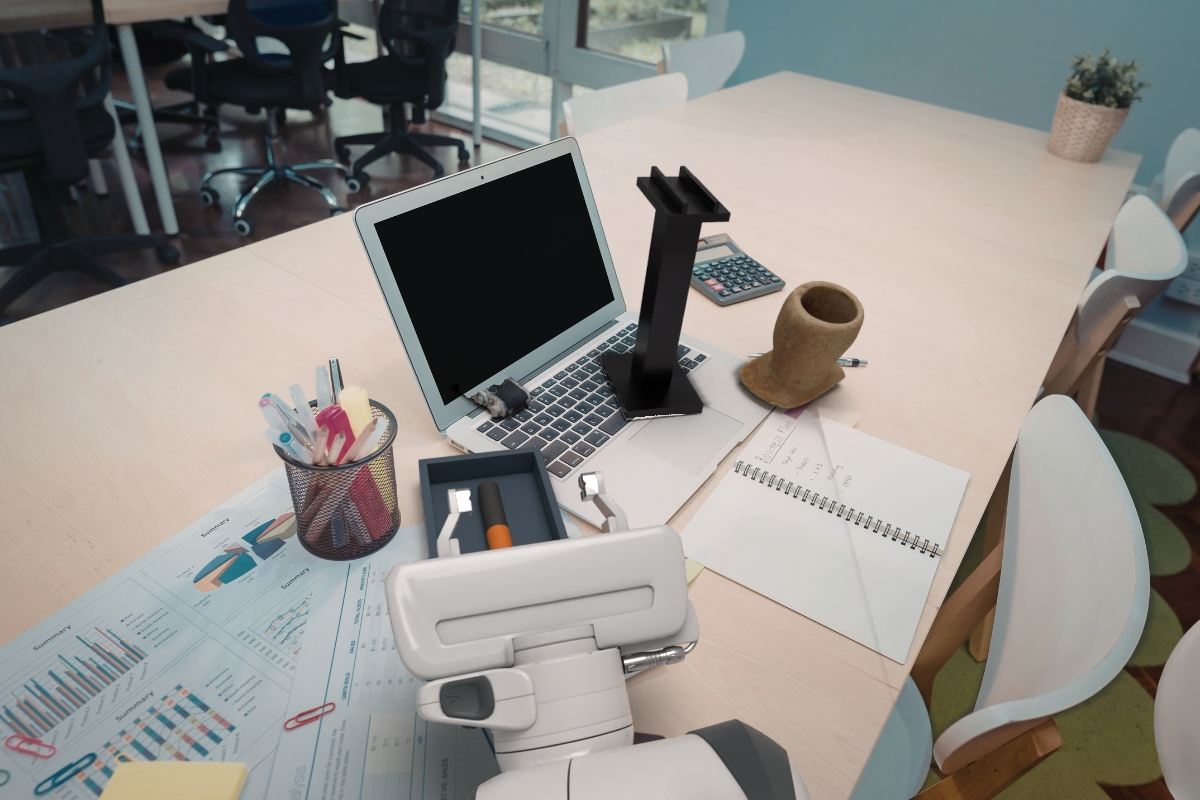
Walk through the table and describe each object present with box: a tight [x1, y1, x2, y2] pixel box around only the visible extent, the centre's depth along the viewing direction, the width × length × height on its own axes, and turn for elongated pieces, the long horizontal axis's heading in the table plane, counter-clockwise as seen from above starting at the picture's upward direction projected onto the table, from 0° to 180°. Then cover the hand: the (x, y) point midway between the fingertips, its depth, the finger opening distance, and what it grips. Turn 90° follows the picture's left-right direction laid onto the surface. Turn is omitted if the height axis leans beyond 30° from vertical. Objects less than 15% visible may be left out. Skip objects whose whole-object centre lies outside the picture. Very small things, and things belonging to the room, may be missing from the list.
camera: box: [471, 375, 533, 418], centre depth 88 cm, size 5×10×4 cm, turn 46°
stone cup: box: [738, 280, 865, 409], centre depth 92 cm, size 15×12×15 cm
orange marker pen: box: [477, 481, 513, 550], centre depth 67 cm, size 20×2×2 cm, turn 16°
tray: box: [417, 445, 569, 559], centre depth 67 cm, size 26×13×4 cm, turn 16°
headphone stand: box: [598, 165, 732, 418], centre depth 85 cm, size 12×10×27 cm
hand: (525, 481), depth 52 cm, fingers open, 8 cm apart
